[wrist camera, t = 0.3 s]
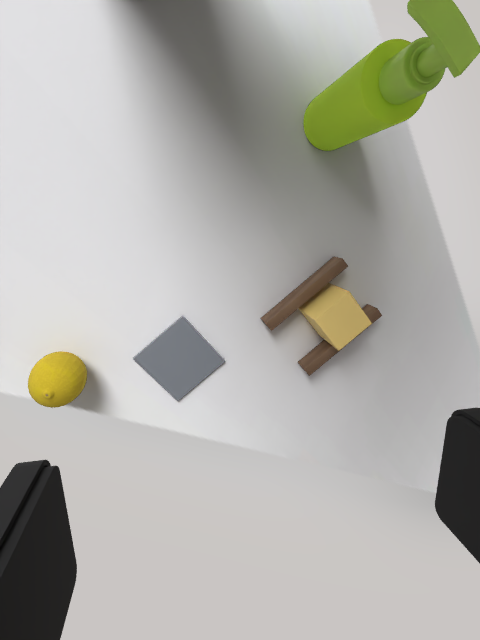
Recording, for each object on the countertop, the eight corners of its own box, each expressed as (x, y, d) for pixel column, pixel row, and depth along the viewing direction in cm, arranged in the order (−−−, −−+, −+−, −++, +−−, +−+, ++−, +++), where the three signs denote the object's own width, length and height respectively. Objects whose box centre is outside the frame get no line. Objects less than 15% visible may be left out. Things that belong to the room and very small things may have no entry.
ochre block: (297, 307, 47) (315, 320, 41) (327, 282, 46) (349, 291, 41) (319, 335, 48) (338, 350, 42) (348, 310, 48) (372, 323, 42)
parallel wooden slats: (260, 318, 46) (265, 323, 44) (333, 256, 45) (342, 258, 43) (302, 368, 49) (309, 375, 47) (371, 310, 48) (382, 315, 46)
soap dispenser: (322, 72, 40) (459, -59, 21) (362, 121, 42) (520, 43, 23) (286, 116, 40) (388, 27, 21) (327, 162, 42) (454, 118, 23)
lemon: (101, 356, 44) (87, 385, 36) (79, 392, 44) (60, 429, 37) (57, 333, 42) (32, 359, 34) (34, 372, 43) (5, 406, 35)
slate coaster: (133, 357, 44) (133, 358, 44) (182, 315, 44) (182, 316, 44) (177, 399, 47) (177, 401, 47) (224, 360, 47) (225, 361, 46)
